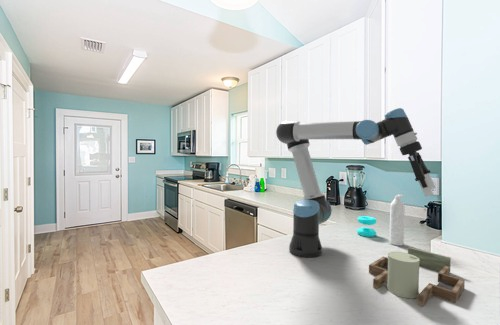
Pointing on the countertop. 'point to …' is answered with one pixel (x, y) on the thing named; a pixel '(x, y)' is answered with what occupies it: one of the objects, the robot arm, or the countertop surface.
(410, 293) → the can
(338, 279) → the countertop surface
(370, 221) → the donuts
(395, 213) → the white bottle
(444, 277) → the channel
